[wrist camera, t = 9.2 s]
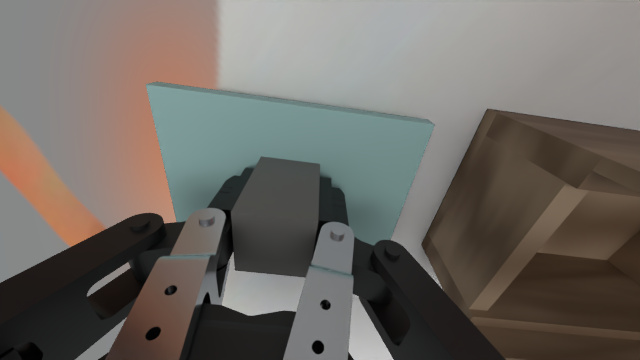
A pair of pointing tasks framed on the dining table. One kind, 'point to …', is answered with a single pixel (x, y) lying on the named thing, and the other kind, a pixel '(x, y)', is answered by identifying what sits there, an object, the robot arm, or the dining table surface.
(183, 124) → the cover plate
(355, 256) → the robot arm
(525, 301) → the box
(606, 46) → the dining table surface
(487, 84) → the dining table surface
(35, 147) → the dining table surface
